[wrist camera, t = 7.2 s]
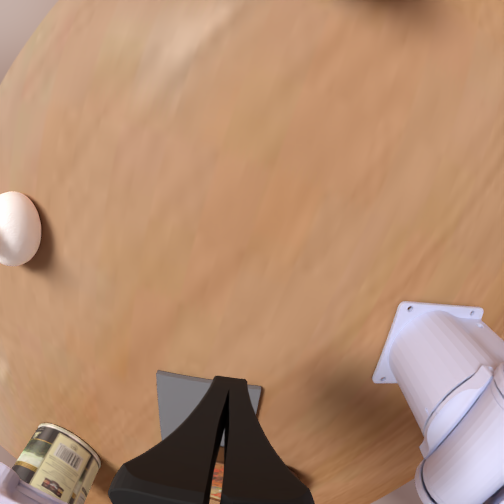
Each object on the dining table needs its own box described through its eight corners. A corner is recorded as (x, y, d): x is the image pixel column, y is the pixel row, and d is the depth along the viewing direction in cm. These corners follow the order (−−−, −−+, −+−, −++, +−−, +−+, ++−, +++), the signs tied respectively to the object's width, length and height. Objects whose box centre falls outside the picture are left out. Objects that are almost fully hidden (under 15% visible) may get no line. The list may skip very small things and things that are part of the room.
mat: (261, 386, 25) (260, 389, 25) (238, 488, 31) (238, 491, 30) (157, 370, 25) (156, 373, 25) (167, 477, 31) (167, 480, 30)
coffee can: (44, 449, 32) (8, 512, 19) (33, 410, 29) (-17, 482, 16) (103, 478, 33) (74, 549, 19) (100, 444, 30) (60, 531, 16)
